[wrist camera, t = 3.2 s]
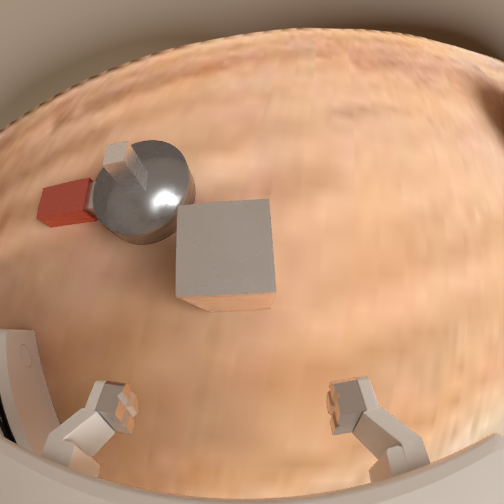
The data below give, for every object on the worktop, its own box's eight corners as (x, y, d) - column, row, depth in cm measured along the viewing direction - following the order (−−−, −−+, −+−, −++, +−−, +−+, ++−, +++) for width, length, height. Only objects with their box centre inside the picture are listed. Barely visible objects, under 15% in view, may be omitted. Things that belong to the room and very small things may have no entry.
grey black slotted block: (8, 336, 21) (-42, 320, 13) (39, 330, 23) (-6, 311, 14) (54, 477, 17) (21, 511, 8) (89, 475, 19) (63, 513, 10)
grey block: (208, 311, 22) (175, 296, 13) (207, 252, 23) (177, 205, 15) (270, 308, 22) (276, 291, 13) (266, 249, 23) (268, 198, 15)
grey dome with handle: (46, 252, 24) (-2, 227, 17) (61, 177, 26) (25, 141, 19) (194, 241, 24) (167, 201, 16) (197, 153, 26) (179, 98, 19)
